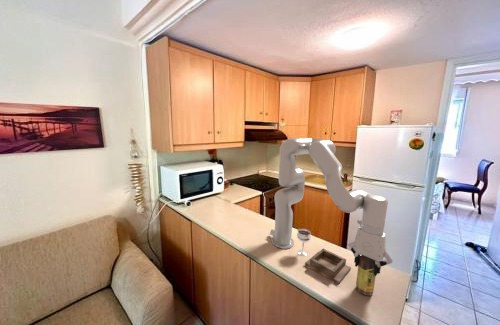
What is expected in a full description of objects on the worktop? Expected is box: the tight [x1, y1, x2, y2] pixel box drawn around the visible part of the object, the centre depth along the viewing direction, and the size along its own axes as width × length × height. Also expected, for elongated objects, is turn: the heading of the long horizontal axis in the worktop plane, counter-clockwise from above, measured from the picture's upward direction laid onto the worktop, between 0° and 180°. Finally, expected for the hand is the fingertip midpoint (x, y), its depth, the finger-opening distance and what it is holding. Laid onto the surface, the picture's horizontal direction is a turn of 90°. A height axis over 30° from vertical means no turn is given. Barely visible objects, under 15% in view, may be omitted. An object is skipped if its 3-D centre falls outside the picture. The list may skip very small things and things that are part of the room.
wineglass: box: [297, 228, 312, 257], centre depth 104 cm, size 7×7×12 cm
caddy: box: [304, 248, 352, 285], centre depth 94 cm, size 16×13×4 cm
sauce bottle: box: [355, 254, 376, 296], centre depth 80 cm, size 6×6×20 cm
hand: (366, 269), depth 80 cm, fingers closed on sauce bottle, 6 cm apart
